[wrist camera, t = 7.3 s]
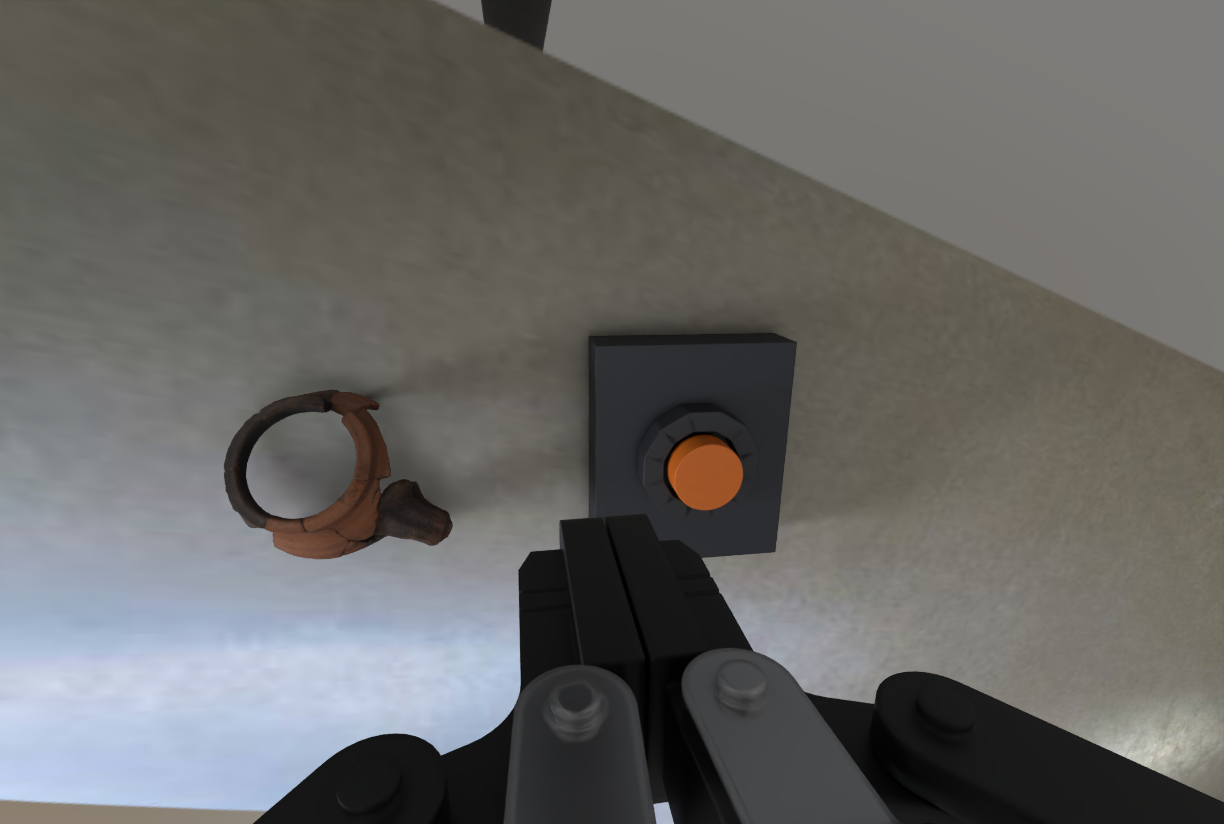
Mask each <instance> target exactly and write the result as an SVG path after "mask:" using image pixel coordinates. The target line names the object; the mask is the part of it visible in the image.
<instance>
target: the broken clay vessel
mask: <svg viewBox="0 0 1224 824" xmlns="http://www.w3.org/2000/svg"><path fill="white" fill-rule="evenodd" d="M379 406H380V405H379V403H377V402H376V401H374V400H372V399H369V398H366V397H364V396H361V395H358V394H355V393H351V392H339V391H338V390H326V391H319V392H314V393H309V394H304V395H299V396H294V397H288V398H284V399H281V400H278V401H275V402H273V403H271V404H270V405H268V406H266V407H264V408H263V409H262V410H261V411H260V412H259V413H257V414H254V415H253V416H252V417H251V418H250V419H249V420H247V421H246V422H245V423H244V425H243V426H242V428H240V430H239V431H238V432H237V433H236V435H235V436H234V438H233V440H232V442H231V444H230V446H229V448H228V451H227V454H226V459H225V463H224V469H225V472H224V478H225V485H226V492H227V494H228V497H229V500H230V503H231V505H232V507H233V509H234V510H235V511H236V512H238V513H239V514H240V515H241V517H242V518H243V520H244V521H245V523H246V524H247V525H248V526H249V527H251V528H264V529H266V530H268V531H271V532H273V543H274V546H275V547H276V548H278V549H280V550H282V551H285V552H286V553H289V554H292V555H294V556H298V557H303V558H312V559H331V558H337V557H341V556H342V555H347V554H350V553H353V552H356V551H358V550H360V549H363V548H365V547H367V546H369V545H371V544H373V543H375V542H377V541H379V540H380V539H382V538H384V537H386V536H393V537H397V538H401V539H413V540H416V541H419V542H423V543H425V544H427V545H430V546H434V545H437V544H438V543H439V542H441V541H442V540H443V539H445V538H447V537H448V535H449V534H450V532H451V529H452V526H453V524H452V521H451V519H450V515H449V513H448V512H447V511H445V510H442V509H441V508H439V507H437V506H435V505H433V504H431V503H430V502H429V501H427V500H426V499H425V498H424V497H423V495H422V493H421V491H420V489H419V485H418V483H417V482H409V480H406V479H402V480H399V481H397V482H393V483H392V484H390V485H389V486H388V487H387V488H385V490H384V491H383V493H382V494H381V493H380V488H379V480H380V479H383V478H387V477H390V476H391V469H390V463H389V458H388V454H387V447H386V444H385V442H384V440H383V437H382V435H381V433H380V429H379V427H378V425H377V423H376V421H375V420H374V419H373V417H372V416H371V415H370V413H369V412H368V411H367V409H372V410H378V409H379ZM330 410H332V411H334V412H336V413H338V414H341V415H343V416H344V417H343V418H342V423H343V424H344V426H345V427H346V428H347V429H348V431H349V432H350V434H351V436H352V438H353V440H354V442H355V447H356V454H357V460H356V467H355V473H354V479H353V481H352V482H351V484H350V485H349V487H348V489H347V490H346V491H345V493H344V494H343V495H342V496H341V497H340V498H339V499H338V500H337V501H336V502H335V503H334V504H333V505H331V506H330V507H329V508H327V509H326V510H324V511H322V512H320V513H318V514H316V515H313V516H310V517H306V518H299V519H287V518H281V517H278V516H274V515H271V514H269V513H267V512H266V511H264V510H263V509H262V508H261V507H260V506H259V505H258V504H257V503H256V502H255V500H254V499H253V497H252V495H251V493H250V491H249V489H248V485H247V479H246V468H247V462H248V459H249V456H250V453H251V451H252V448H253V446H254V445H255V443H256V442H257V440H258V439H259V438H260V436H261V435H262V434H263V433H264V432H265V431H266V430H267V429H268V428H270V427H271V426H272V425H273V424H275V423H276V422H278V421H280V420H282V419H284V418H286V417H288V416H290V415H293V414H297V413H303V412H321V413H323V412H328V411H330Z"/></svg>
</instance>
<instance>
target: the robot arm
mask: <svg viewBox="0 0 1224 824" xmlns="http://www.w3.org/2000/svg"><path fill="white" fill-rule="evenodd" d="M559 529H560V549H559V550H546V551H534V552H530V554H529V555H528V557H527V558H526V560H525V561H524V563H523V564H522V566H521V567H520V569H519V570H518V571H519V619H520V668H521V687H520V693H519V697H518V700H517V702H516V704H515V706H514V708H513V710H512V711H511V712H510V714H509V715H508V717H507V718H506V719H505V720H504V721H503V722H502V723H501V724H500V725H499V726H498V727H496V728H495V729H494V730H493V731H491V732H490V733H488V734H487V735H485V736H484V737H482V738H481V739H478V740H476V741H474V742H472V743H470V744H468V745H465V746H463V747H461V748H458V749H456V750H453V751H451V752H449V753H446V754H444V755H440V753H439V752H438V751H437V750H436V749H435V748H434V746H433V745H431V744H430V743H428V742H427V741H425V740H423V739H421V738H419V737H416V736H412V735H408V734H383V735H379V736H374V737H370V738H367V739H364V740H361V741H358V742H356V743H354V744H352V745H350V746H348V747H346V748H344V749H343V750H341V751H339V752H338V753H336V754H335V755H333V756H332V757H331V758H329V759H328V760H327V761H325V762H324V763H323V764H322V765H321V766H320V767H318V768H317V769H316V770H315V771H314V772H313V773H311V774H310V775H309V776H308V777H307V778H306V779H304V780H303V781H302V782H301V783H300V784H299V785H297V786H296V787H295V788H294V789H293V790H292V791H290V792H289V793H288V794H287V795H286V796H285V797H283V798H282V799H281V800H280V801H279V802H278V803H276V804H275V805H274V806H273V807H272V808H271V809H269V810H268V811H267V812H266V813H265V814H264V815H262V816H261V817H260V818H259V819H258V820H257V821H255V822H254V823H253V824H656V818H655V812H654V806H653V804H656V803H663V802H668V803H669V806H670V810H671V814H672V818H673V821H674V824H1224V802H1222V801H1220V800H1217V799H1215V798H1213V797H1211V796H1209V795H1206V794H1204V793H1202V792H1200V791H1198V790H1195V789H1193V788H1191V787H1189V786H1187V785H1184V784H1182V783H1180V782H1178V781H1176V780H1173V779H1171V778H1169V777H1167V776H1165V775H1162V774H1160V773H1158V772H1156V771H1154V770H1151V769H1149V768H1147V767H1145V766H1143V765H1140V764H1138V763H1136V762H1134V761H1132V760H1129V759H1127V758H1125V757H1123V756H1121V755H1118V754H1116V753H1114V752H1112V751H1110V750H1107V749H1105V748H1103V747H1101V746H1099V745H1096V744H1094V743H1092V742H1090V741H1088V740H1085V739H1083V738H1081V737H1079V736H1077V735H1074V734H1072V733H1070V732H1068V731H1066V730H1063V729H1061V728H1059V727H1057V726H1055V725H1052V724H1050V723H1048V722H1046V721H1044V720H1041V719H1039V718H1037V717H1035V716H1033V715H1030V714H1028V713H1026V712H1024V711H1022V710H1019V709H1017V708H1015V707H1013V706H1011V705H1008V704H1006V703H1004V702H1002V701H1000V700H997V699H995V698H993V697H991V696H989V695H986V694H984V693H982V692H980V691H977V690H975V689H973V688H971V687H969V686H966V685H964V684H962V683H960V682H957V681H955V680H952V679H950V678H947V677H944V676H940V675H937V674H932V673H926V672H902V673H897V674H894V675H892V676H890V677H888V678H886V679H885V680H884V681H883V682H882V683H881V684H880V685H879V687H878V689H877V692H876V698H875V704H870V703H863V702H856V701H849V700H842V699H834V698H827V697H822V696H817V695H813V694H810V693H806V692H804V691H803V690H802V688H801V687H800V685H799V684H798V683H797V681H796V680H795V679H794V677H793V676H792V675H791V674H790V673H789V671H787V670H786V669H785V668H784V667H783V666H782V665H780V664H779V663H777V662H776V661H774V660H773V659H771V658H769V657H767V656H765V655H762V654H760V653H757V652H754V651H753V650H752V648H751V646H750V644H749V642H748V641H747V639H746V637H745V635H744V633H743V632H742V630H741V628H740V626H739V625H738V623H737V621H736V619H735V617H734V616H733V614H732V612H731V610H730V608H729V607H728V605H727V603H726V601H725V600H724V598H723V596H722V594H721V593H720V594H719V589H718V587H717V585H716V583H715V582H714V580H713V578H712V577H710V573H709V571H708V569H707V567H706V566H705V564H704V562H703V560H702V558H701V557H700V555H699V554H698V553H697V552H695V551H694V550H692V549H691V548H690V547H688V546H687V545H686V544H684V543H683V542H681V541H680V540H667V541H659V539H658V537H657V535H656V533H655V531H654V529H653V526H652V524H651V522H650V520H649V518H648V516H647V514H635V515H621V516H608V517H604V520H603V519H602V517H596V518H583V519H570V520H560V528H559Z"/></svg>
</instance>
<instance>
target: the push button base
mask: <svg viewBox="0 0 1224 824" xmlns="http://www.w3.org/2000/svg"><path fill="white" fill-rule="evenodd" d="M796 345H797V342H795V341H793V340H790V339H788V338H785V337H783V336H780V335H777V334H775V333H754V334H694V335H635V336H589V518H596V517H602V519H603V520H604V517H608V516H621V515H635V514H647V516H648V518H649V520H650V522H651V524H652V526H653V529H654V531H655V533H656V535H657V537H658V539H659V541H667V540H680V541H681V542H683V543H684V544H686V545H687V546H688V547H690V548H691V549H692V550H694V551H695V552H697V553H698V554H699V555H700V557H701V558H705V557H718V556H731V555H744V554H757V553H770V552H775V550H776V540H777V531H778V521H779V511H780V501H781V492H782V482H783V472H784V462H785V453H786V443H787V433H788V423H789V413H790V404H791V394H792V384H793V374H794V365H795V355H796ZM702 434H704V435H712V436H715V437H717V438H719V439H721V440H722V441H723V442H725V443H726V444H727V445H728V446H729V447H730V448H731V449H732V450H733V451H734V452H735V454H736V455H737V456H738V457H739V459H740V461H741V463H742V467H743V480H742V483H741V486H740V489H739V490H738V492H737V494H736V495H735V496H734V497H733V498H732V499H731V500H730V501H729V502H728V503H726V504H725V505H723V506H721V507H719V508H716V509H712V510H698V509H694V508H692V507H689V506H688V505H686V504H685V503H684V502H683V501H682V500H681V499H680V498H679V496H678V495H677V493H676V492H675V490H674V488H673V487H672V485H671V483H670V481H669V479H668V475H667V464H668V460H669V458H670V455H671V453H672V452H673V450H674V449H675V448H676V447H677V446H678V445H679V444H680V443H681V442H682V441H684V440H685V439H687V438H689V437H692V436H695V435H702Z"/></svg>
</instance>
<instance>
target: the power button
mask: <svg viewBox="0 0 1224 824" xmlns="http://www.w3.org/2000/svg"><path fill="white" fill-rule="evenodd" d="M667 475H668V479H669V481H670V483H671V485H672V487H673V488H674V490H675V492H676V493H677V495H678V496H679V498H680V499H681V500H682V501H683V502H684V503H685V504H686V505H688V506H689V507H692V508H694V509H698V510H712V509H716V508H719V507H721V506H723V505H725V504H726V503H728V502H729V501H730V500H731V499H732V498H733V497H734V496H735V495H736V494H737V492H738V490H739V489H740V486H741V483H742V480H743V467H742V463H741V461H740V459H739V457H738V456H737V455H736V454H735V452H734V451H733V450H732V449H731V448H730V447H729V446H728V445H727V444H726V443H725V442H723V441H722V440H721V439H719V438H717V437H715V436H712V435H704V434H702V435H695V436H692V437H689V438H687V439H685V440H684V441H682V442H681V443H680V444H679V445H678V446H677V447H676V448H675V449H674V450H673V452H672V453H671V455H670V458H669V460H668V464H667Z"/></svg>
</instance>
